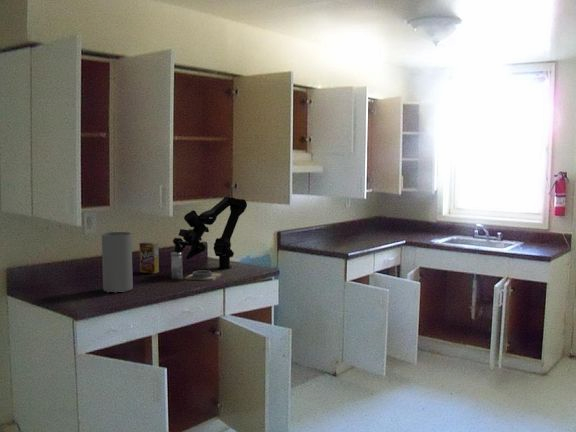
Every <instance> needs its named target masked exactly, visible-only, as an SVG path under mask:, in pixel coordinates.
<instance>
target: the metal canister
mask: <svg viewBox="0 0 576 432" xmlns="http://www.w3.org/2000/svg"><path fill="white" fill-rule="evenodd" d="M170 256H171V257H170V260H171V263H170V264H171V265H170V266H171V279H172V280H182V279H183V274H184V273H183V251H182V252H174V251H172V252H170Z"/></svg>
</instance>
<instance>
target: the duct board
mask: <svg viewBox="0 0 576 432" xmlns="http://www.w3.org/2000/svg"><path fill="white" fill-rule="evenodd" d="M221 276H223V272H212V276H211V277H208V278H195V277H193V273H191V274H189V275H187V276H185V277H184V278H185V280H194V281H210V282H212V281H215V280H216V279H218V278H220V277H221Z"/></svg>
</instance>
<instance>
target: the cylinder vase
mask: <svg viewBox="0 0 576 432" xmlns="http://www.w3.org/2000/svg"><path fill="white" fill-rule="evenodd" d="M132 234H133V233H132V232H128V231H127V232H126V231H113V232H103V233H101V255H102V256H101V257H102V259H101V260H102V261H101V262H102V290H103V291H104V292H105V291H106V293H109V292H114V293H113V294H115V293H116V294H118V293H117V292H122V293H126V292H130V291H131V290H133V288H134V287H133V285H134V283H133V248H132V246H133V245H132V244H133V243H132V242H133V240H132V238H133V237H132Z"/></svg>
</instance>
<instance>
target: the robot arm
mask: <svg viewBox="0 0 576 432" xmlns="http://www.w3.org/2000/svg"><path fill="white" fill-rule="evenodd" d="M247 203H248V202H247V200H246V199H244V198H243V199H242V198H236V197H233V196H224V197H223V199H221V200H220V201H219V202H217V203H216V205H214V206H213V207H211V208H210V209H208V210H205V211H204V212H201V213H200V214H199V215H198V213H197V212H196V211H195V210H193V209H192V210H191V211H189V212H187V213H186V214H185V215H184V217H183V220H184V221H185V223H187V225H188V226H189V227H190V228H189V229H183V228H181V229H180V230H179V233H178V236H179V237H173V239H172V243H173V245H174V246H175V247H174V250H173V252H182V253H183V251H184V249H185V248H186V247H191V249H190V250H189V252H188V253H187V255H186V257H185V259H186V260H190V259H191V258H193V257H195V256H197V255H199V254H202V253H205V251H206V248H207V247H206V245H205V244H204V243H203V241H202V240H203V238H202V237H203V236H204V233H209V232H210V230H209V227H208V226H207V225H209V226H212V225H214V223H215V222H216V221H217V218H218V216H219V215H220V214H221V213H222V212H224V211H225V210H226V209H227V208H228V207H229V211H230V214H229V216H228V218H227V222H226V224H225V226H224V229H223V231H222V234H221V236H220V237H218V238H217V237H216V238H215V241H214V243H213V252H214V254H215V257H218V266H217V267H216V269H220V270H221V269H223V270H229V269H231V268H232V267H233V266H232V265H231V258H233V257H234V254H235V252H234V251H233V250H232V249H231V248H232V243H231V239H232V236H233V233H234V231H235V228H236V225H237V222H238V220H239V218H240V216H241V215H242V214H244V212H245V210H246V209H247V207H248V204H247ZM191 228H192V229H191ZM181 237H182V238H181Z"/></svg>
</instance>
